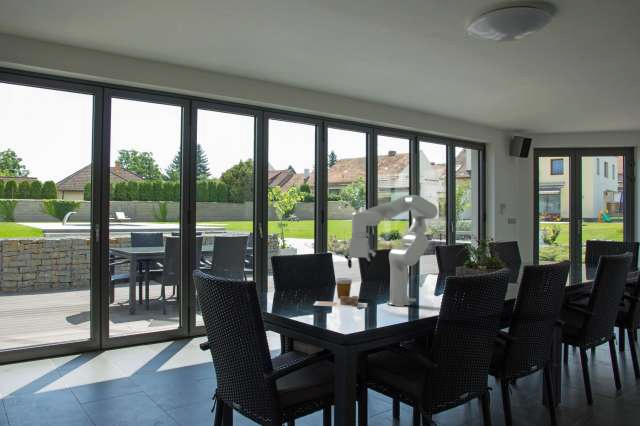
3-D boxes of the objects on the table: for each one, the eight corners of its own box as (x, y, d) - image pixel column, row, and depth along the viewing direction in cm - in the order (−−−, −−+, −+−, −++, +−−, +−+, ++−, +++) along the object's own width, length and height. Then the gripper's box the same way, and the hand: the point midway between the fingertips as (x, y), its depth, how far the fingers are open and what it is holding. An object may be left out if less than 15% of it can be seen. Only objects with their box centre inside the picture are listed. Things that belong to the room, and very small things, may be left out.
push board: (367, 305, 264) (367, 303, 264) (366, 309, 252) (366, 307, 252) (316, 303, 267) (316, 301, 267) (313, 307, 255) (313, 305, 255)
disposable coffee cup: (351, 298, 284) (352, 278, 284) (351, 301, 274) (351, 280, 274) (335, 298, 285) (336, 277, 285) (334, 301, 275) (335, 279, 275)
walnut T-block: (357, 303, 263) (358, 296, 263) (357, 306, 254) (357, 298, 254) (341, 302, 264) (341, 295, 264) (339, 305, 255) (340, 298, 255)
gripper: (376, 235, 255) (376, 268, 255) (344, 235, 260) (344, 267, 260) (374, 236, 248) (374, 269, 248) (341, 235, 253) (341, 268, 253)
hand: (359, 268), depth 254 cm, fingers open, 9 cm apart
